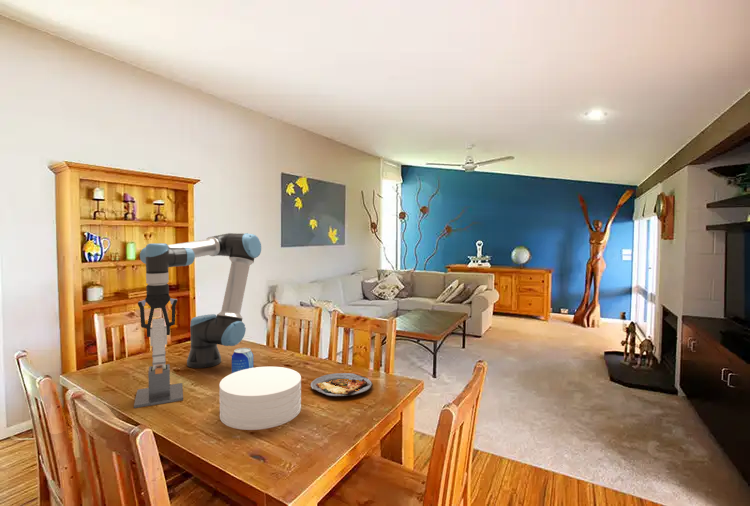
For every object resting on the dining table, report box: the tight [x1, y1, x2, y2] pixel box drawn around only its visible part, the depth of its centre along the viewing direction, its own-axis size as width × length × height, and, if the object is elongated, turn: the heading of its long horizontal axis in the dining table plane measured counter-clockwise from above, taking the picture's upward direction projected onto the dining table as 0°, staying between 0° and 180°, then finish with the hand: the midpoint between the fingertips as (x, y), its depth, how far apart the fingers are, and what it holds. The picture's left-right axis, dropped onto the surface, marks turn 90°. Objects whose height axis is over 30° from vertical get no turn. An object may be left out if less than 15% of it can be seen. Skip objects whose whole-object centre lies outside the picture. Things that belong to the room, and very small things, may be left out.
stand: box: [133, 363, 184, 409], centre depth 155 cm, size 16×16×12 cm
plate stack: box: [218, 365, 302, 431], centre depth 144 cm, size 28×28×12 cm
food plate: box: [310, 372, 373, 397], centre depth 165 cm, size 25×23×4 cm
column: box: [151, 317, 167, 371], centre depth 154 cm, size 5×5×22 cm
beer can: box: [231, 347, 254, 374], centre depth 163 cm, size 8×8×16 cm
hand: (158, 344), depth 154 cm, fingers closed on column, 4 cm apart
